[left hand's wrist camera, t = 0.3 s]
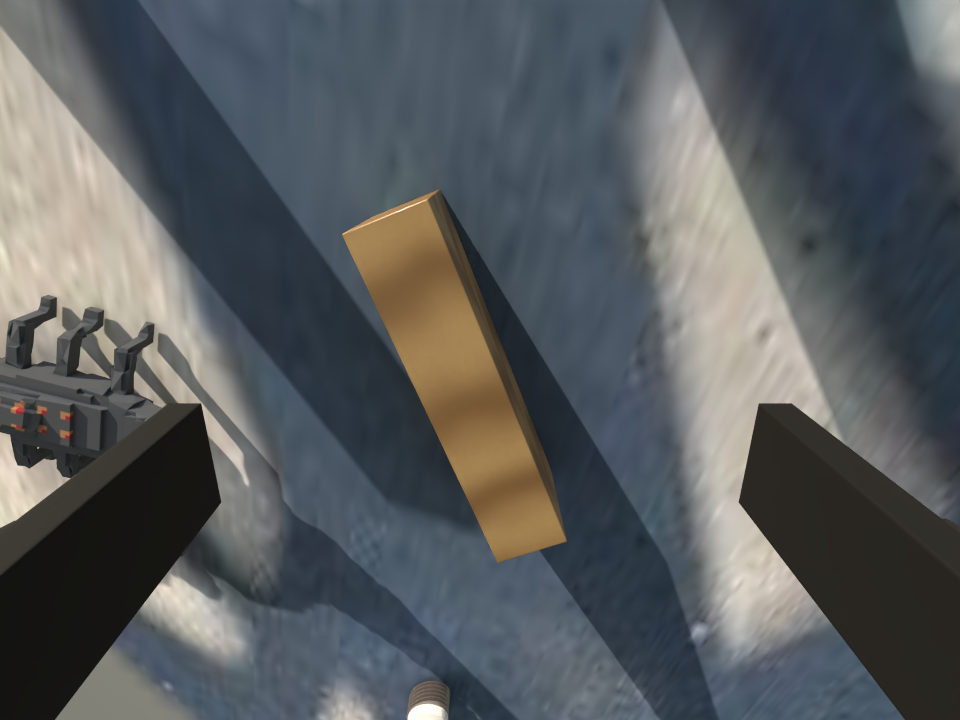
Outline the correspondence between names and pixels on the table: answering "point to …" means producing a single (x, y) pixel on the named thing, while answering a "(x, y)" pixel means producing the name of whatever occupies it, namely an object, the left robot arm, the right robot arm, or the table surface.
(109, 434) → the toy
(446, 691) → the light bulb
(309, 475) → the table surface
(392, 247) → the bar
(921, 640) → the left robot arm
